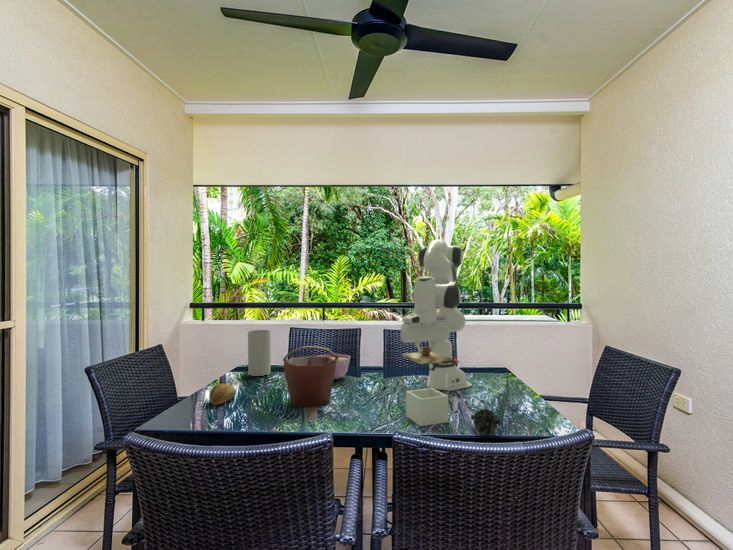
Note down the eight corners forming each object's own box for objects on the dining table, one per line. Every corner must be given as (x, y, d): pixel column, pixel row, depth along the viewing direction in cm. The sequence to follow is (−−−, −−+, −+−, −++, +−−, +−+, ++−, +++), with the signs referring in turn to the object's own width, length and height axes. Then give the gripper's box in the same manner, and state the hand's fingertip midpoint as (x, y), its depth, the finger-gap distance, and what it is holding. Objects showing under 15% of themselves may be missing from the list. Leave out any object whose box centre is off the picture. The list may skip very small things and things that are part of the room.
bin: (432, 412, 169) (432, 388, 169) (448, 422, 157) (447, 395, 157) (406, 416, 164) (406, 391, 164) (420, 426, 153) (419, 399, 153)
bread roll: (203, 406, 179) (203, 388, 179) (220, 396, 194) (220, 379, 194) (224, 407, 178) (224, 389, 178) (239, 397, 192) (239, 380, 192)
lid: (432, 356, 170) (432, 343, 170) (450, 363, 157) (450, 348, 157) (401, 359, 165) (401, 345, 165) (418, 366, 152) (417, 351, 152)
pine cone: (469, 398, 157) (484, 410, 142) (490, 405, 157) (506, 417, 142) (463, 420, 156) (476, 434, 141) (483, 427, 157) (499, 441, 142)
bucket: (345, 398, 190) (344, 343, 190) (324, 413, 169) (324, 352, 169) (297, 393, 198) (297, 341, 198) (273, 407, 177) (272, 349, 177)
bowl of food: (357, 376, 230) (357, 356, 230) (336, 384, 213) (336, 362, 214) (329, 372, 241) (329, 352, 241) (306, 379, 224) (306, 358, 224)
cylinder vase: (267, 377, 231) (267, 332, 231) (245, 377, 231) (245, 332, 231) (272, 372, 243) (272, 329, 243) (251, 372, 243) (251, 330, 244)
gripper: (444, 315, 168) (444, 349, 168) (398, 317, 161) (398, 353, 161) (452, 316, 162) (452, 352, 162) (405, 319, 155) (405, 355, 155)
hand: (425, 352), depth 161 cm, fingers closed on lid, 3 cm apart
